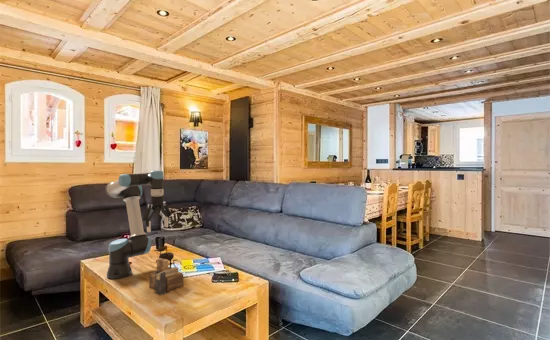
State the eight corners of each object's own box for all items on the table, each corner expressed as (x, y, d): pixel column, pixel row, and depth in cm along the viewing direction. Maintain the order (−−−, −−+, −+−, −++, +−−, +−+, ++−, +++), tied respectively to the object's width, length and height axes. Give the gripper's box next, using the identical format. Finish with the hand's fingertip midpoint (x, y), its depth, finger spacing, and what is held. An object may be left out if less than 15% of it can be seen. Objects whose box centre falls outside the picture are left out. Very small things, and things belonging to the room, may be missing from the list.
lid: (149, 275, 189) (149, 260, 189) (164, 270, 199) (164, 255, 198) (168, 280, 181) (167, 265, 181) (182, 274, 191) (182, 259, 190)
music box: (157, 279, 201) (156, 248, 202) (153, 276, 210) (151, 246, 211) (181, 274, 210) (179, 244, 211) (176, 271, 219) (174, 242, 220)
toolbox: (144, 289, 186) (143, 269, 186) (165, 280, 199) (165, 261, 199) (162, 295, 178) (162, 273, 177) (183, 285, 191) (182, 265, 191)
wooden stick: (155, 279, 180) (155, 274, 180) (174, 271, 192) (174, 266, 192) (159, 280, 178) (159, 275, 178) (178, 272, 190) (178, 267, 190)
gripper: (144, 198, 181) (145, 234, 183) (176, 193, 203) (177, 225, 205) (135, 197, 185) (136, 233, 186) (168, 192, 207) (168, 224, 208)
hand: (157, 229), depth 195 cm, fingers open, 13 cm apart
